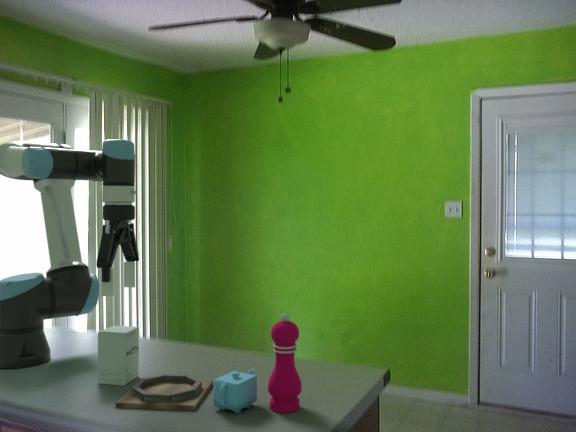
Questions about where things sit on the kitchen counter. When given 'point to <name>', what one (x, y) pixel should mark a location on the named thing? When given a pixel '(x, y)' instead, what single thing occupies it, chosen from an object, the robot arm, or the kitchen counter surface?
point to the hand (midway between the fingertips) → (119, 291)
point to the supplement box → (118, 355)
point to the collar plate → (166, 392)
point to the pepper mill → (284, 368)
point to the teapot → (235, 390)
